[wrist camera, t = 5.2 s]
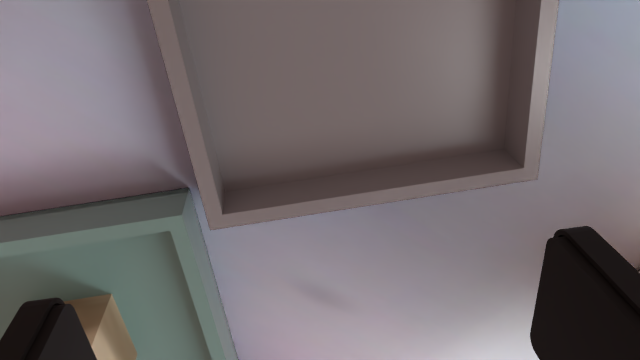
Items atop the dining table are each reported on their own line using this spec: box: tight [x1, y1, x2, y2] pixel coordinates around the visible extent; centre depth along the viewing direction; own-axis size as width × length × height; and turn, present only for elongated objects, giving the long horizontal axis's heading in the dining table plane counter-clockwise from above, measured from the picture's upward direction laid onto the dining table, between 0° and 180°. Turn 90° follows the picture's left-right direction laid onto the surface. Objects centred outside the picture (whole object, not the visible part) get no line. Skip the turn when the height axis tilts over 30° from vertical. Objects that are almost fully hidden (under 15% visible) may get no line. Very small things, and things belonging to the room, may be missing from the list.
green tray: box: [0, 188, 238, 360], centre depth 26 cm, size 15×15×2 cm
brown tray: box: [147, 0, 559, 230], centre depth 19 cm, size 15×15×2 cm
